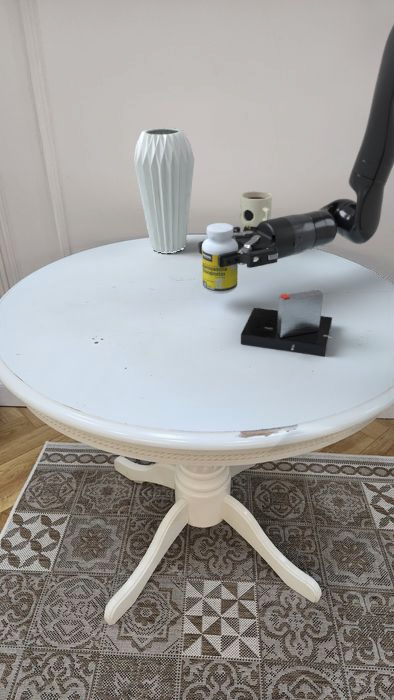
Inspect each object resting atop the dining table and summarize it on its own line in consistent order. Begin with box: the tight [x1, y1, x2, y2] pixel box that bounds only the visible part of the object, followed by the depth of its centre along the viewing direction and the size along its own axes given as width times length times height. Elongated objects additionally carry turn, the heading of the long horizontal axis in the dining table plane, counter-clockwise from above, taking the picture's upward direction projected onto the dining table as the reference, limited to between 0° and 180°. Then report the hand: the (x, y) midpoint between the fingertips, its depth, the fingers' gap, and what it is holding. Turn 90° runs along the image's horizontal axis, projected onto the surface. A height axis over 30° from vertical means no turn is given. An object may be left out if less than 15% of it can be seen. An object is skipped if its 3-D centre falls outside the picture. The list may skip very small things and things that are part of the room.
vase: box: [133, 127, 195, 253], centre depth 120 cm, size 13×13×26 cm
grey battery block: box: [277, 289, 324, 338], centre depth 87 cm, size 7×2×7 cm, turn 107°
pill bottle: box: [201, 222, 239, 295], centre depth 96 cm, size 6×6×12 cm
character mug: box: [239, 190, 273, 232], centre depth 122 cm, size 11×7×13 cm, turn 26°
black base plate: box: [240, 306, 333, 357], centre depth 90 cm, size 15×13×2 cm
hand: (208, 254), depth 95 cm, fingers closed on pill bottle, 6 cm apart
